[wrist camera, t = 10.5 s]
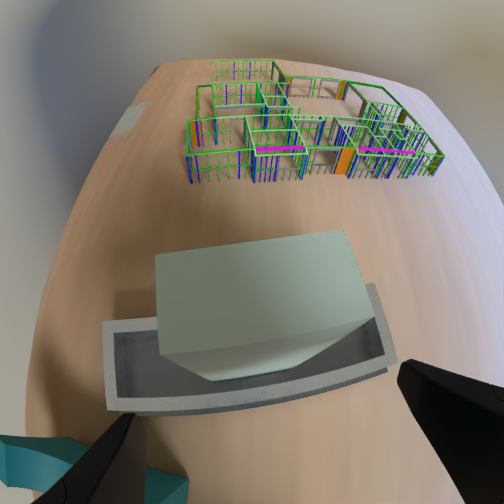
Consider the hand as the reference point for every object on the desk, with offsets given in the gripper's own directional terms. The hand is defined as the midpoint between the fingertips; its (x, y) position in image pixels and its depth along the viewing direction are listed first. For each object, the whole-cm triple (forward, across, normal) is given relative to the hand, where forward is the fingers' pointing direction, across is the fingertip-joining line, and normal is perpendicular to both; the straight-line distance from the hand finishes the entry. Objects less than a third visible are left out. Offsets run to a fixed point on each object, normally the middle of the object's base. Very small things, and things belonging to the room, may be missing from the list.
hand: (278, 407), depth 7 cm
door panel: (+11, 0, +6) cm, 13 cm away
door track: (+12, 0, +7) cm, 14 cm away
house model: (+36, -14, -16) cm, 42 cm away
